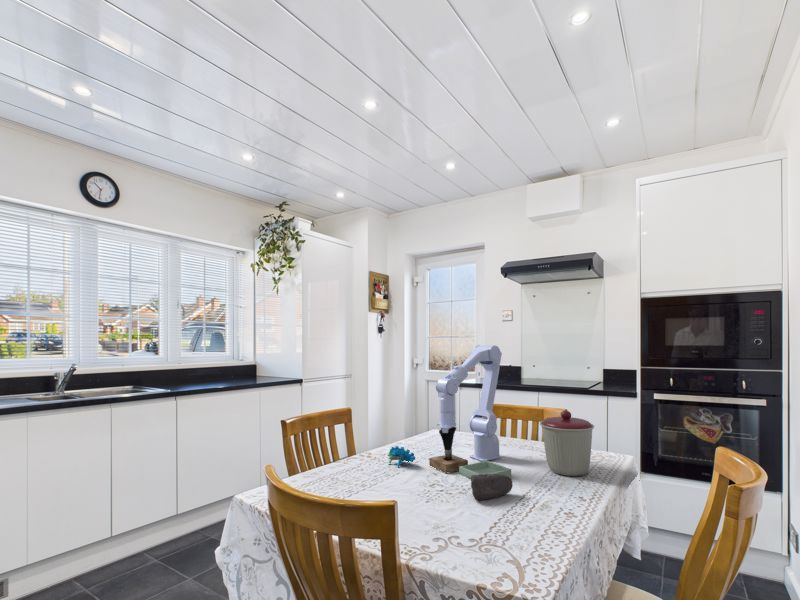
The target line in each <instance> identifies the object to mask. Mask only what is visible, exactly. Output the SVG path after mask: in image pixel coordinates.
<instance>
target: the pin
mask: <svg viewBox="0 0 800 600" xmlns="http://www.w3.org/2000/svg"><path fill="white" fill-rule="evenodd" d="M444 455H445V460H446V461H451V460H452V455H453V444H452V445H451V450H445V449H444Z"/></svg>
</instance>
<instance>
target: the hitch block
mask: <svg viewBox="0 0 800 600" xmlns="http://www.w3.org/2000/svg"><path fill="white" fill-rule="evenodd" d="M428 459H429V461H428V462H429V463H428V464H429V465H430V466H432V467H434V468H436V469H435V470H437V469H439V470H441V471H443V472H445V473H444V474H448V473H447V472H451V473H454V472H453V471H456V472H458V471H457V470H459V467H460V466H465V465H469V460H468V459H465V458H463V457H461V456H457V455H455V454H452V460H451V461H446V460H445V454H443V455H438V456H433V457H429V458H428ZM430 466H429V467H430ZM432 467H431V468H432ZM434 468H433V469H434ZM439 470H438V471H439ZM441 471H440V472H441ZM443 472H442V473H443Z"/></svg>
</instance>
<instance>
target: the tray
mask: <svg viewBox="0 0 800 600" xmlns="http://www.w3.org/2000/svg"><path fill="white" fill-rule="evenodd" d="M458 472H459V474H458V475H460V474H461V475H460V476H462V475H463V477H465V476H466V477H465V478H467V477H468V478H467V479H469V480H471V476H472V475H479V474H481V475H484V474H501V475H505V476H507V477H509V478H511V477H512V469H511V468H509V467H506V466H503V465H501V464H497V463H494V462H492V461H490V460H488V461H480V462H475V463H470V464H468V465H465V466H460V467H459V471H458Z"/></svg>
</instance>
